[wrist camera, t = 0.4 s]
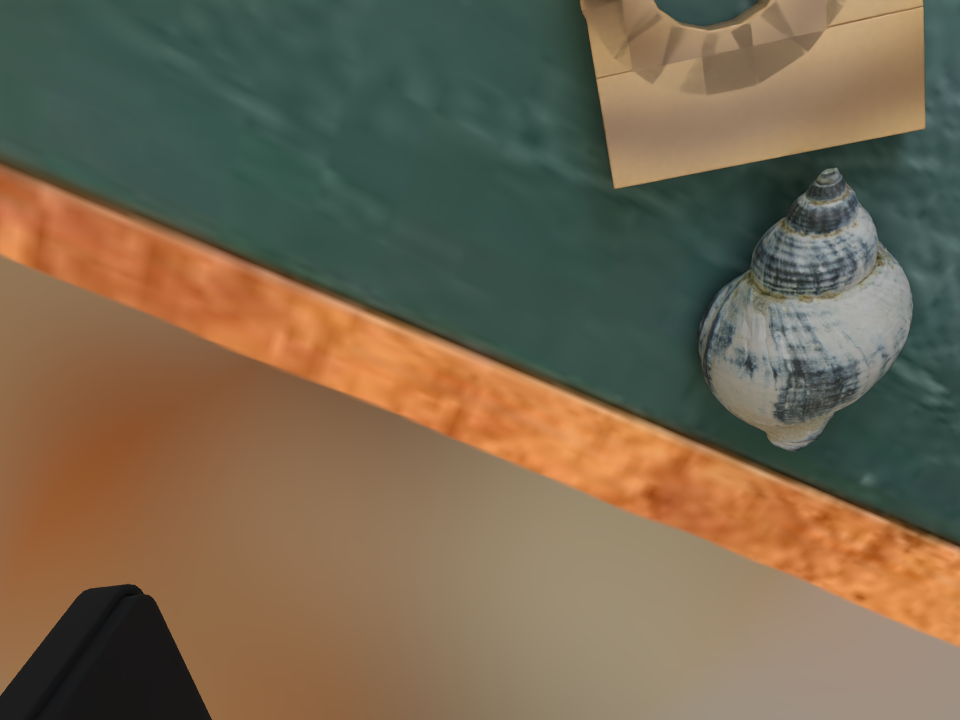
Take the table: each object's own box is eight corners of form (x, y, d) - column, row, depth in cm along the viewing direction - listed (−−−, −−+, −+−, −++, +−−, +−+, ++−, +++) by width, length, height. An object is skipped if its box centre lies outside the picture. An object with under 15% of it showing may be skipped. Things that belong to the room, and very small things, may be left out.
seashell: (672, 364, 42) (824, 147, 37) (804, 458, 40) (985, 242, 35) (631, 396, 37) (801, 147, 31) (780, 507, 35) (990, 261, 29)
